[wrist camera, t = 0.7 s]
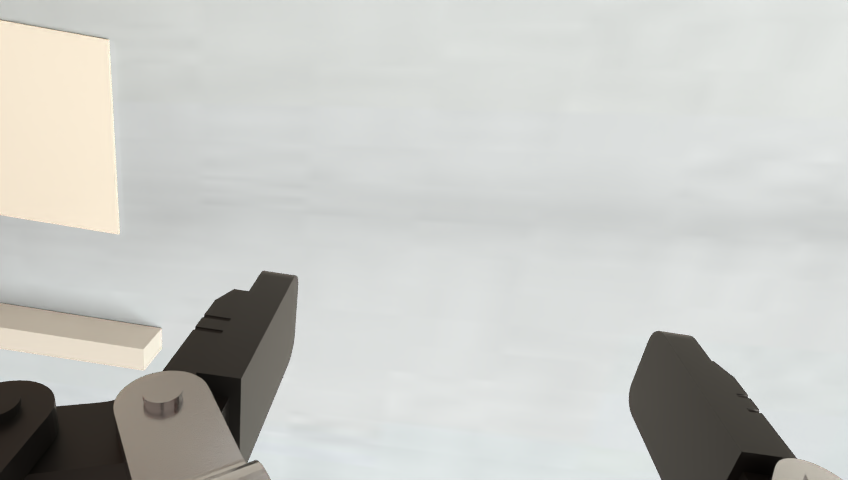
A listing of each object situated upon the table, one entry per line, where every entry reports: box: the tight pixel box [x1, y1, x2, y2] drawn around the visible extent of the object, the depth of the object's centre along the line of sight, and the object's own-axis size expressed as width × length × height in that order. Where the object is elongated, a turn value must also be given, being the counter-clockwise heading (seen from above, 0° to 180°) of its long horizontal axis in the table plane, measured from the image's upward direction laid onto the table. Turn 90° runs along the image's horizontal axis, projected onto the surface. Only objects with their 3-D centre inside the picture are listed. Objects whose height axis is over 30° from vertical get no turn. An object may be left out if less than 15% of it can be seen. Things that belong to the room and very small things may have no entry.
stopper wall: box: [0, 303, 162, 370], centre depth 43 cm, size 2×20×3 cm, turn 80°
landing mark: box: [0, 20, 120, 234], centre depth 38 cm, size 14×14×1 cm
